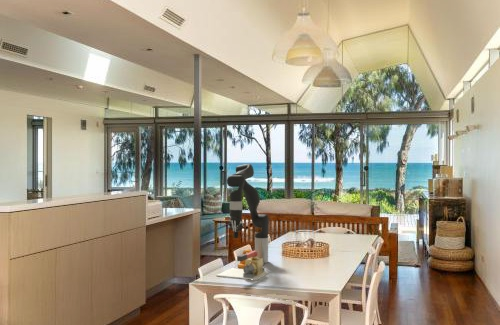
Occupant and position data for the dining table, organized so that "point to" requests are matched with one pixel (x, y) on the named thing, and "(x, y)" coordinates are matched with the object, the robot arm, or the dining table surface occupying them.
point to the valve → (253, 267)
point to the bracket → (242, 263)
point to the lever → (247, 255)
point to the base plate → (239, 274)
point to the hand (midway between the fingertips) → (235, 237)
